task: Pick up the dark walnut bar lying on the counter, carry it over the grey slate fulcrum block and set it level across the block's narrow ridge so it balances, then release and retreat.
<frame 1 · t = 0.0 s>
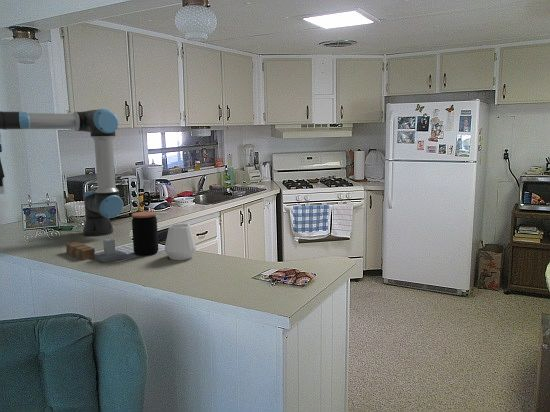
coffee jar: (146, 253, 205), on the countertop
slate fulcrum: (110, 257, 197), on the countertop
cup: (180, 257, 198), on the countertop
walnut bar: (80, 255, 202), on the countertop
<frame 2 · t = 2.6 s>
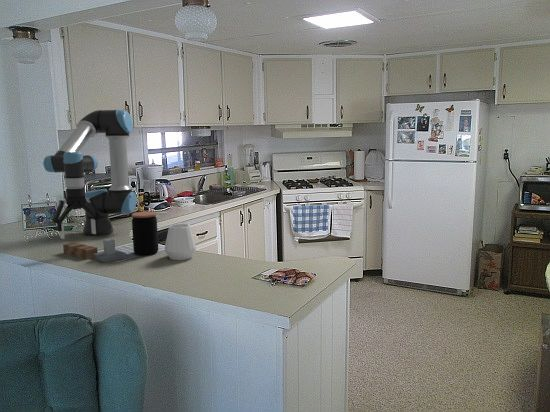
hand: (78, 236, 200), 9 cm above the countertop, fingers open, 13 cm apart
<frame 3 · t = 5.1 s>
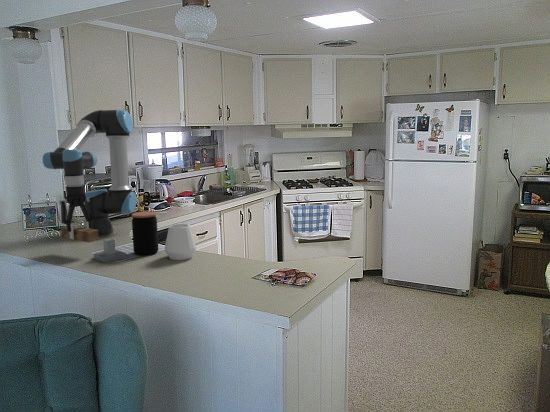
hand: (79, 237, 201), 8 cm above the countertop, fingers closed on walnut bar, 6 cm apart
walnut bar: (80, 238, 201), point 7 cm above the countertop, touching gripper
everything else where it was.
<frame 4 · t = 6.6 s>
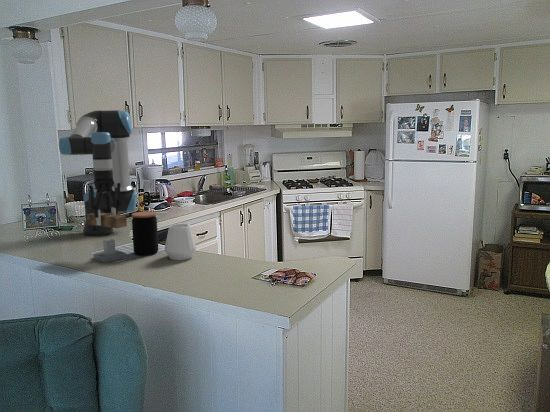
hand: (106, 223, 194), 15 cm above the countertop, fingers closed on walnut bar, 6 cm apart
walnut bar: (107, 225, 195), point 14 cm above the countertop, touching gripper
everything else where it was.
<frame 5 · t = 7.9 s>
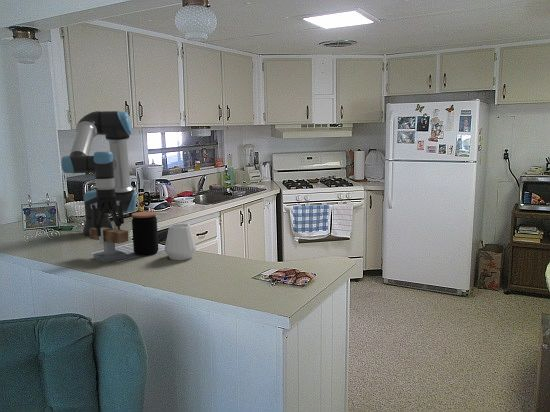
hand: (109, 241, 196), 7 cm above the countertop, fingers closed on walnut bar, 6 cm apart
walnut bar: (108, 239, 196), point 8 cm above the countertop, touching gripper, slate fulcrum
everything else where it was.
when the fingers open (7 cm above the countertop, at t = 8.1 s): walnut bar stays where it is, resting on slate fulcrum.
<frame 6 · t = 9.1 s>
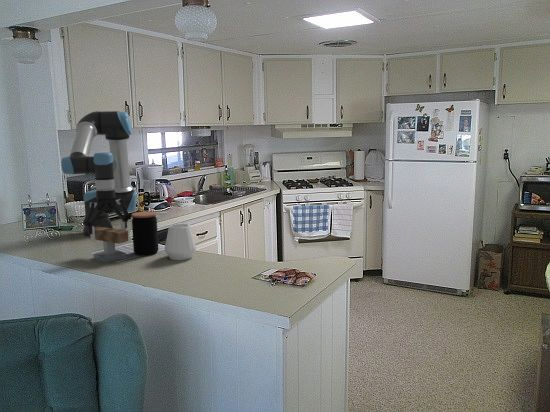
hand: (108, 238, 196), 9 cm above the countertop, fingers open, 13 cm apart
walnut bar: (108, 239, 196), point 8 cm above the countertop, touching slate fulcrum
everything else where it was.
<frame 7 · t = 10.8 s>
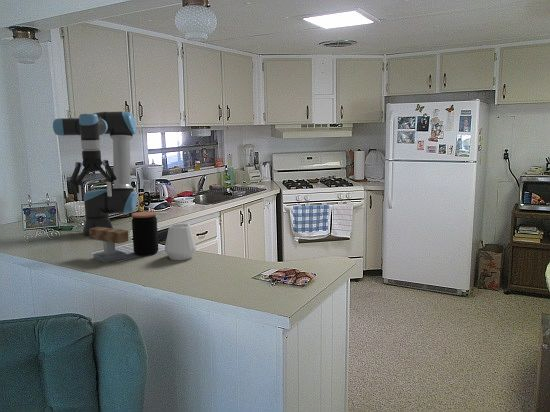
hand: (95, 198, 202), 25 cm above the countertop, fingers open, 13 cm apart
nothing on the countertop moved.
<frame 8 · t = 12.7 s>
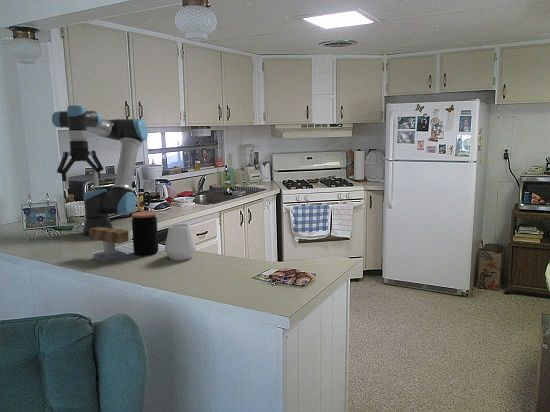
hand: (82, 187, 209), 29 cm above the countertop, fingers open, 13 cm apart
nothing on the countertop moved.
at the end: walnut bar 0.1 cm off-centre on the slate fulcrum, point 8.0 cm above the slate fulcrum's base; walnut bar touching slate fulcrum; walnut bar tilted 0° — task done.
